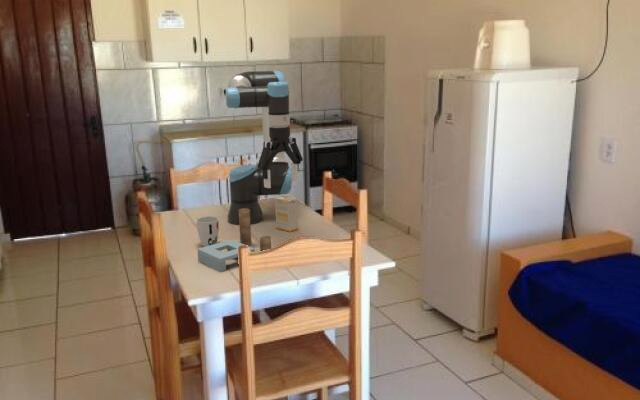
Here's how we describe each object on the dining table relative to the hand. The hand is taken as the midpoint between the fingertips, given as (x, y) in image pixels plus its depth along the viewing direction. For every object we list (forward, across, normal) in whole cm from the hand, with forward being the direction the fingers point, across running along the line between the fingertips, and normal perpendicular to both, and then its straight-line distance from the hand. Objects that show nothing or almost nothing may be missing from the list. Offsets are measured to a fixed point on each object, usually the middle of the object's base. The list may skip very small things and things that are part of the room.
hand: (281, 184), depth 205 cm
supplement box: (+23, +13, +11) cm, 29 cm away
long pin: (+23, -12, +8) cm, 27 cm away
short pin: (+23, -12, -4) cm, 26 cm away
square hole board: (+23, -26, +1) cm, 35 cm away
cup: (+23, -20, +19) cm, 36 cm away
